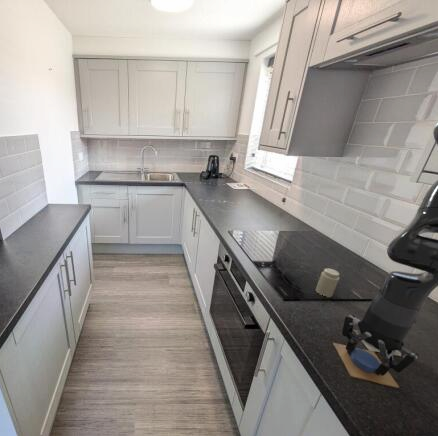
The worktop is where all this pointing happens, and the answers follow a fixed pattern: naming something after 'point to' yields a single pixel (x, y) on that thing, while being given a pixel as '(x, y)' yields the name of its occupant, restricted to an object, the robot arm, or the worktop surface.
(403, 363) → the robot arm
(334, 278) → the jar
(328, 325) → the worktop surface
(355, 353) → the lid
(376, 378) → the coaster
